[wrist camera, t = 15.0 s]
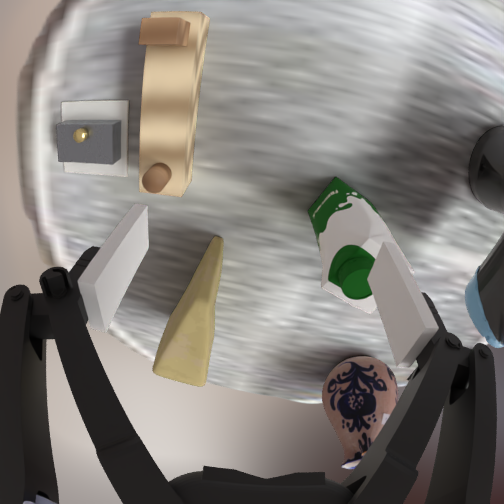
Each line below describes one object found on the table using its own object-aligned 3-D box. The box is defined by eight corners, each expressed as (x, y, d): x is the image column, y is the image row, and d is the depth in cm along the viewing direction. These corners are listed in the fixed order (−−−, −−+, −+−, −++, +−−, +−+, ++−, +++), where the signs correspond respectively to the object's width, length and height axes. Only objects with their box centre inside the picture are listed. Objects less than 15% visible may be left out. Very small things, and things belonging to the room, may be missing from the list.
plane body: (166, 17, 31) (135, 6, 22) (209, 18, 32) (191, 4, 23) (153, 176, 45) (125, 208, 36) (191, 180, 45) (171, 214, 36)
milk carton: (334, 168, 43) (375, 242, 27) (377, 201, 46) (429, 283, 29) (299, 212, 47) (315, 303, 31) (342, 240, 50) (373, 333, 33)
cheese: (190, 226, 50) (166, 287, 37) (248, 244, 51) (241, 309, 39) (168, 316, 62) (150, 376, 49) (214, 329, 63) (203, 391, 51)
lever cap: (66, 120, 39) (51, 126, 36) (121, 120, 39) (108, 126, 36) (68, 155, 42) (54, 164, 39) (121, 158, 43) (109, 167, 39)
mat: (62, 101, 38) (61, 102, 37) (129, 100, 38) (127, 100, 38) (65, 171, 44) (64, 172, 44) (127, 176, 45) (126, 177, 45)
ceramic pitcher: (377, 334, 62) (404, 437, 42) (398, 374, 72) (419, 457, 51) (307, 362, 68) (314, 463, 48) (339, 397, 78) (349, 479, 57)
